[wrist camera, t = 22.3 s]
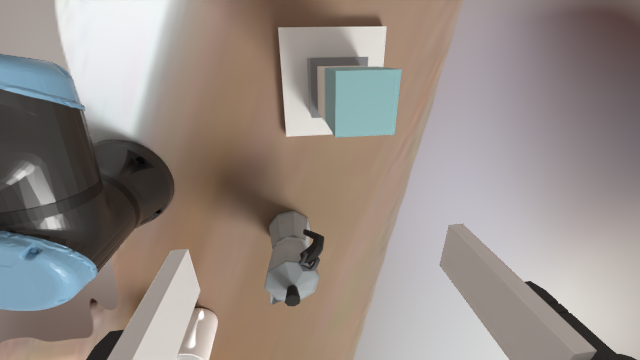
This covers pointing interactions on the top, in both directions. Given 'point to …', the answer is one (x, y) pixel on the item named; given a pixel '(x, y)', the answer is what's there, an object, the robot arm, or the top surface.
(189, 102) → the top surface
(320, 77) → the cream block
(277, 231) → the coffee maker
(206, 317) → the mug
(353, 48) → the tower base
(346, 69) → the teal block
